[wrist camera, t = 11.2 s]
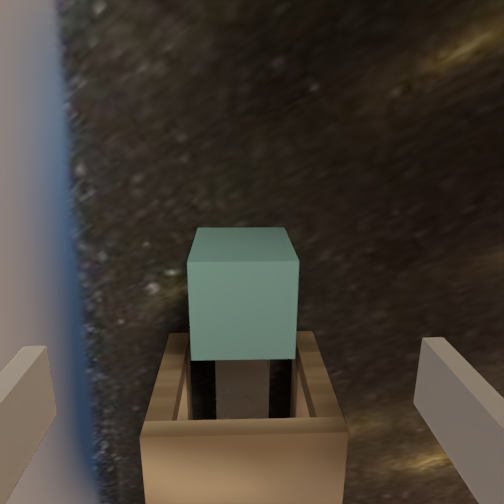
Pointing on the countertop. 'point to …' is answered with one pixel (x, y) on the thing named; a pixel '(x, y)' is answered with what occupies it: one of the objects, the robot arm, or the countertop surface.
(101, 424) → the countertop surface
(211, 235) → the block
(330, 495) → the tunnel
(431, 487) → the countertop surface
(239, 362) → the hammer
